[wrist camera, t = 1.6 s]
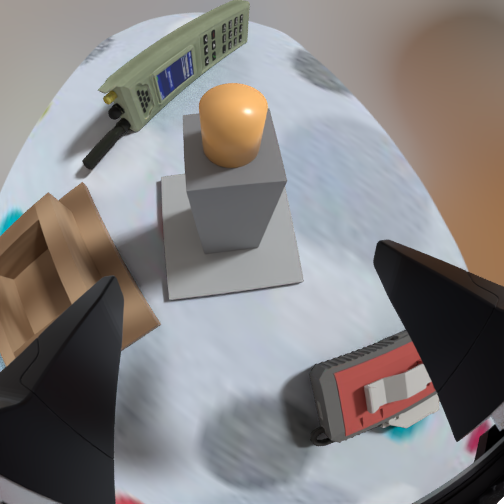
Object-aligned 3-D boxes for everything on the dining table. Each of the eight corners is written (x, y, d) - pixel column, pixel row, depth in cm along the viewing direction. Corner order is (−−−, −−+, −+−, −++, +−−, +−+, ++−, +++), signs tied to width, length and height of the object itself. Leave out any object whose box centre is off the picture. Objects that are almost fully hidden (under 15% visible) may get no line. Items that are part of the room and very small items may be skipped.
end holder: (161, 324, 20) (141, 325, 15) (46, 400, 17) (13, 412, 12) (86, 186, 22) (62, 159, 17) (-8, 270, 19) (-40, 259, 14)
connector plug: (258, 247, 21) (301, 145, 9) (204, 254, 21) (176, 156, 8) (250, 198, 22) (277, 69, 10) (199, 204, 22) (176, 76, 9)
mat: (302, 282, 21) (303, 281, 21) (170, 300, 20) (169, 299, 20) (278, 167, 24) (279, 164, 23) (162, 179, 22) (161, 177, 22)
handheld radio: (251, 44, 28) (102, 181, 22) (230, 37, 29) (82, 167, 22) (254, 2, 22) (69, 138, 16) (231, -3, 22) (50, 126, 16)
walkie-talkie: (311, 457, 18) (473, 372, 21) (328, 481, 14) (501, 374, 17) (291, 367, 20) (464, 298, 23) (307, 378, 16) (493, 292, 19)
